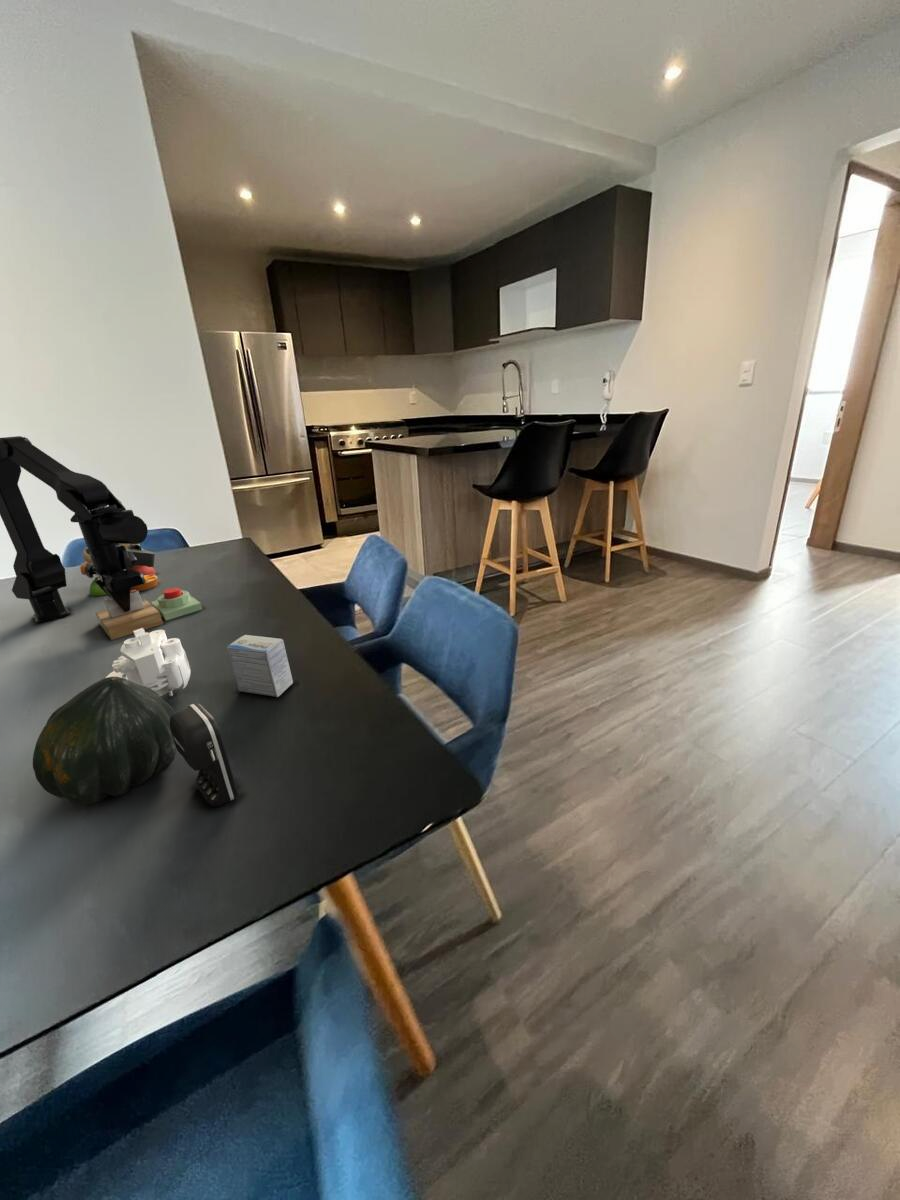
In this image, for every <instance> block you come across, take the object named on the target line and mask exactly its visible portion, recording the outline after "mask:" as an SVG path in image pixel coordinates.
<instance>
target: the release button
mask: <svg viewBox="0 0 900 1200" xmlns="http://www.w3.org/2000/svg"><path fill="white" fill-rule="evenodd" d="M181 590H182V589H181V588H180V587H170V588H166V589H164V590H163V591H162V593H163V594H164V597H165V599H172V598H176V597H179V596H181V595H182V593H181ZM163 594H162V595H163Z"/></svg>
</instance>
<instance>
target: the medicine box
mask: <svg viewBox="0 0 900 1200" xmlns="http://www.w3.org/2000/svg"><path fill="white" fill-rule="evenodd" d="M226 649H227V653H228V657H229V660H230V664H231V667H232V671H233V675H234V678H235V683H236V686H237V690H238V692H241V693H242V692H243V693H249V694H256V695H263V696H269V697H274V698H279V697H280V696H281V695H283V693H284V692H285V691H286V690H287V689H288V688H290V687H291V686H292V685H293V684H294V680H293V676H292V672H291V668H290V664H289V659H288V655H287V651H286V646H285V642H284V640H283V638H277V637H276V638H275V637H268V636H259V635H249V634H244V635H242V636H240V637H239V638H237V639H236V640H234V641H233V642H231V643H230V644H229V645H227V647H226Z"/></svg>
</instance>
